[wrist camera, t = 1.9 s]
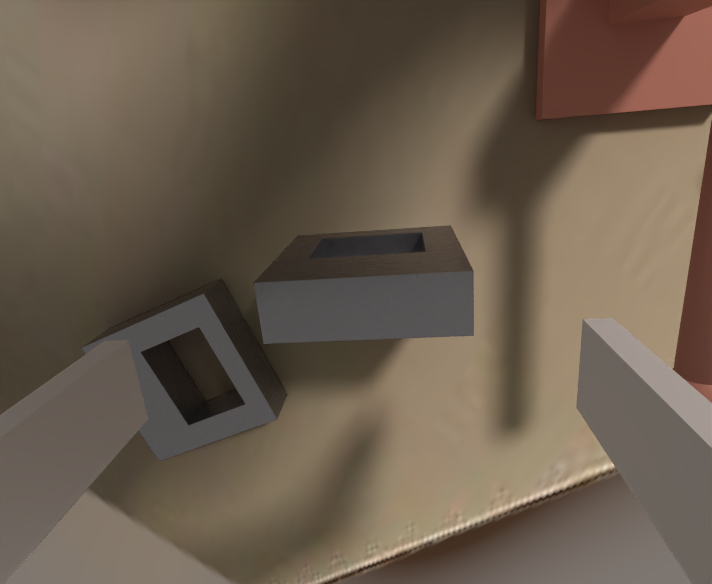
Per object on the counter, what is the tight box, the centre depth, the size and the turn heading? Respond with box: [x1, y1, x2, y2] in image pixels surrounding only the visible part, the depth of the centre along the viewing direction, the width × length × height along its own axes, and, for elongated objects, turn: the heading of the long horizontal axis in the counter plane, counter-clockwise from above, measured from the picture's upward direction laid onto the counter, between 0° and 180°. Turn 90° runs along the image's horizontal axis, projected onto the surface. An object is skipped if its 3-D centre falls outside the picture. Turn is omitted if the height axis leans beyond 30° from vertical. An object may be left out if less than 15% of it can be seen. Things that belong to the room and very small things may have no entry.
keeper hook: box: [536, 0, 712, 403], centre depth 17 cm, size 20×8×10 cm, turn 5°
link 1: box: [81, 279, 287, 461], centre depth 27 cm, size 8×8×2 cm
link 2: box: [254, 225, 474, 344], centre depth 21 cm, size 2×8×8 cm, turn 95°
